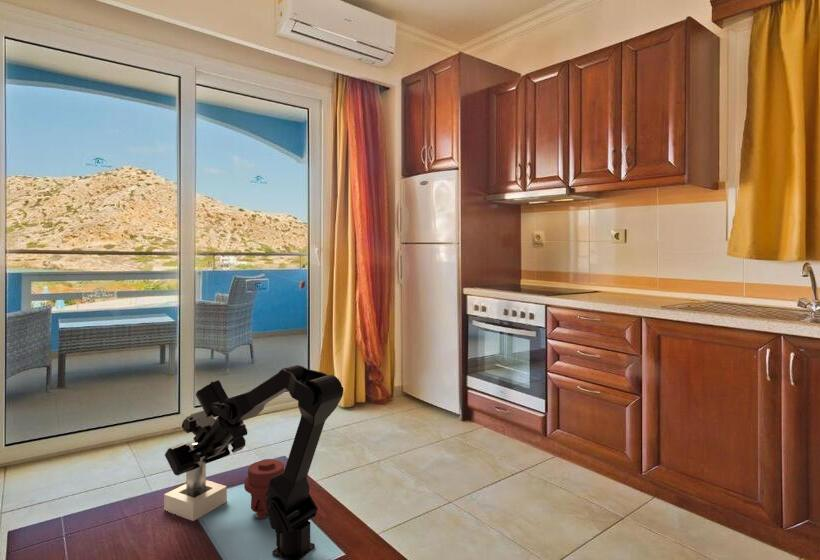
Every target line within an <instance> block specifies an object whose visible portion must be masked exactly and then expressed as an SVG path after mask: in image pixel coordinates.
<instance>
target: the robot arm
mask: <svg viewBox="0 0 820 560" xmlns="http://www.w3.org/2000/svg"><path fill="white" fill-rule="evenodd" d="M287 391H288V393H289V395H290V397H291V399H294V400H296V401H297V406H298V410H299V413H300V419H299V422H298V425H297V430H296V433H295V436H294V438H293V441H292V444H291V449H290V451H289V455H288V458H287V461H286V463H285V466H284V473H282V474H280V475H278V476H276V477H274V478H272V479H271V481H270V483H269V488H268V491H267V493H266V494H265V495H266V496H267V499H266V506H267V511H268V515H267V516H268V519H269V520H268V521H269V523H270V528H271V529H273V530H274V531H275V533H276V535H275V536H276V537H275V539H276V542H275V545H276V548H274V549H273V550H272V551H271V553H272V556H276V557H278V558H281V559H283V560H302V559H303V558H304V557H305V556H307V554H309V553H310V552H311V551H312V550H313V549H314V548H315V547H316V544H315V543H313V542H311V521H310V520H311V519H313V518H316V517H317V514H318V510H319V507H318V506H317V504H316V503H315V501H314V500H313V497H312V496H311V494H310V489H311V487H310V484H309V480H308V475H309V471H310V469H311V465H312V462H313V460H314V456H315V453H316V450H317V447H318V444H319V441H320V438H321V434H322V432H323V428H324V425H325V423H326V421H327V419H328V418H329V417H330V416H331V415H332V413H334V411H335V410H336V409H337V407H338V406H339V404H340V402H341V400H342V397H343V395H344V387H343V385H342V382H341V381H340V379H339V378H338V377H337V376H336V375H333V374H327V373H326V372H321V371H318V370H314V369H309V368H307V367H304V366H303V365H299V364H295V365H292V366H291V365H290V366H287V367H284V368H283V367H282V369H281V370H279V371H278V372H277V373H275V374H274V375H272V376H271V377H269V378H268V379H266V380H265V381H263V382H262V383H261V384H259V385H257V386H255V387H254V388H252V389H251V390H249V391H248V392H245V393H241V394H237V395H235V396H232V397H229V396H228V395H227V393H226V391H225V389H224V387H223V385H222V383H221V381H220V380H219V379H218V380H214V381H213V380H212V381H211V382H210V383H209V384H207V385H205V386H204V387H202V388H200V389H199V390H197V391H196V392H195V397H196V398H197V401H198V402H199V404H200V405H201V408H202V410H201V411H197V412H194V413H192V414H190V415H188V416H186V417H185V419H183V421H182V423H181V428H182V430H184V432H185V433H186V434H189V433H192V434H193V435H194V436H193V438H192V439H193V440H194V441H195V443H198V444H197V445H194V446H193V448H194V450H191V449H190V447H189V445H188V446H187V445H186V443H184V442H182V443H180V444H179V443H178V444H176V445H174V446H171V447H168V449H167V450H166V451H165V453H164V457H165V458H166V460H167V463H168V464H169V465H168V466H169V467H170V468H171V471H172V472H173V474H174V476H177V477H178V476H181V475H182V474H185V473H186V472H188V471H191V470H194V469H196V468H199V467H200V466H199V464H198V462H199V461H200V459H201V458H203V457H205V458H206V465H207V464H209V463H212V462H215V461H218V460H220V459H222V458H225V457H228V456H229V455H231V452H232V453H233V454H234V453H236V452H238V451H241V450H243V449H244V447H246V439H245V436H247V435H248V429H247V426H246V424H245V423H244V421H246V420H250V419H252V418H256V417H257V416H258V415H260V413H261V412H262V411H264V408H265V405H266V404H267V403H269V402H271V401H272V400H274V399H276V398H278V397H279V396H280V395H282V394H284V393H286V392H287ZM215 418H216V419H215ZM230 445H231V448H232V449H231V450H230V449H229V448H230V447H229V446H230Z"/></svg>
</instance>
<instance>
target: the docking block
mask: <svg viewBox="0 0 820 560" xmlns="http://www.w3.org/2000/svg"><path fill="white" fill-rule="evenodd" d="M227 494H228V486H227V485H224V484H220V483H218V482H217V483H216V482H214V481H212V480H211V481H210V480H208V479H206V492H205V493H203V494H201V495H199V496H197V497H195V498H193V497H190V496H187V495H186V483H184V484H183V485H180V486H179V487H176V488H175V489H172V490H170V491H168V492H166V493H164V494H163V495H164V496H163V499H164V500H163V501H164V503H163V504H164V505H163V506H164V508H163V509H164V511H165V510H166V511H165V512H167V511H168V512H167V513H170V514H173V515H175V514H176V515H175V516H178V517H181V518H183V519H187V520H188V521H193V522H194V521H196V520H197V519H199V518H201V517H202V516H204V515H207V514H208V513H209V512H212V511H214V510H215V509H217V508H219V507H221V506H222V505H224V504H225V503H227V502H228V500H227V499H228V498H227V497H228V495H227Z"/></svg>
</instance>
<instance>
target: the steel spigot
mask: <svg viewBox="0 0 820 560" xmlns="http://www.w3.org/2000/svg"><path fill="white" fill-rule="evenodd" d="M185 444H186V445H187V446H188V445H189V447H190V449H191V450H194V448H193V446H194V445H197V444H198V443H195V441H194V439H193V440H190V441H187V442H186V443H185ZM198 464H199V466H200V467H199V468H196V469H194V470H191V471H188V472H185V473H186V474H185V477H186V478H185V479H186V480H185V482H186V483H185V484H186V495H187V496H190V497H193V498H195V497H197V496H199V495H201V494H203V493H205V492H206V480H207V464H206V458H205V457H203V458H201V459H200V461H199V462H198Z"/></svg>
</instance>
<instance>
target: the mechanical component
mask: <svg viewBox="0 0 820 560" xmlns="http://www.w3.org/2000/svg"><path fill="white" fill-rule="evenodd" d="M284 470H285V463H283V462H282V461H281V460H278V459H271V458H265V459H261V460H258V461H255V462H254V463H251V464H250V465H249V466H248V468H247V477H246V478H245V480H244V482H243V483H244V487H243V488H244V490H245V491H246V492H247V493H248V494H250V496H251V498H250V500H251V501H250V509H251V510H252V512H255V513H256V514H257V515H256V516H257V517H256V518H257V519H259V520H262V519H264V518H265V517H267V516H268V511H267V506H266V499H267V496H266V495H265V494H266V493H267V491H268V488H269V483H270V481H271V479H272V478H274V477H276V476H278V475H280V474H282V473H284Z"/></svg>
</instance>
